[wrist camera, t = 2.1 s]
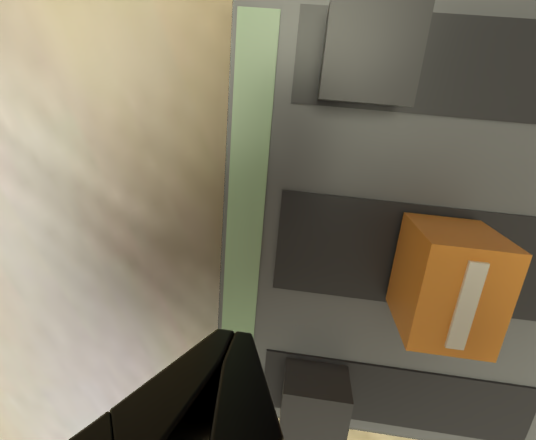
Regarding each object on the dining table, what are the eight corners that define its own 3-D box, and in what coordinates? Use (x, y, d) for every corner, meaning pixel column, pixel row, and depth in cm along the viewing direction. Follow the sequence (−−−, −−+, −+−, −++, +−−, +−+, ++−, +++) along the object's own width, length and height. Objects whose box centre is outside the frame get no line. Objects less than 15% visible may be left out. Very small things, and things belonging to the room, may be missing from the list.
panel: (716, 21, 13) (905, -18, 9) (543, 428, 20) (608, 517, 15) (243, -9, 15) (217, -55, 11) (222, 380, 21) (200, 450, 17)
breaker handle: (480, 220, 14) (535, 257, 11) (455, 307, 16) (497, 365, 12) (403, 212, 14) (433, 245, 11) (385, 298, 16) (407, 352, 12)
